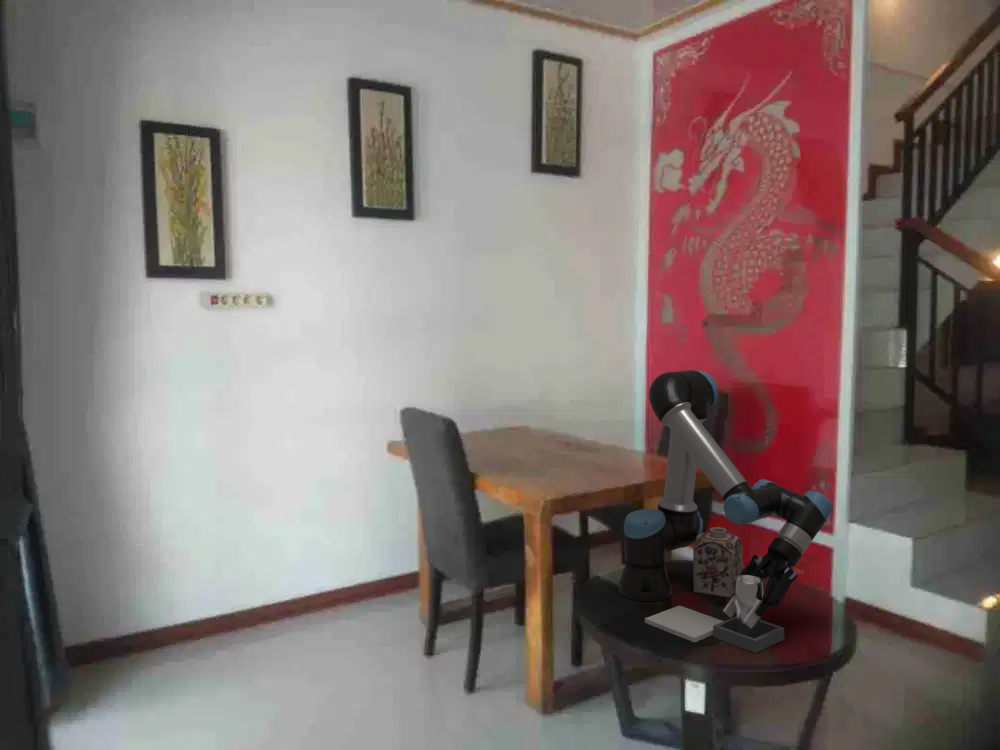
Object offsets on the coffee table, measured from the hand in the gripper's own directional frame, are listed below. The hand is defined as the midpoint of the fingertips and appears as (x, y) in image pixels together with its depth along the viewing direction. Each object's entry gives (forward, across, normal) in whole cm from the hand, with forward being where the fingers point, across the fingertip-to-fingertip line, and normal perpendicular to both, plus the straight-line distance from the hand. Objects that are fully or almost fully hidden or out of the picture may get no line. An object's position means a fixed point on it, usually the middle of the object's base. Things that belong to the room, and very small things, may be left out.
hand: (737, 619), depth 182 cm
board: (+7, +13, 0) cm, 15 cm away
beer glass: (+1, 0, -6) cm, 7 cm away
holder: (+1, 0, -6) cm, 7 cm away
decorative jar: (-9, +31, -18) cm, 37 cm away
